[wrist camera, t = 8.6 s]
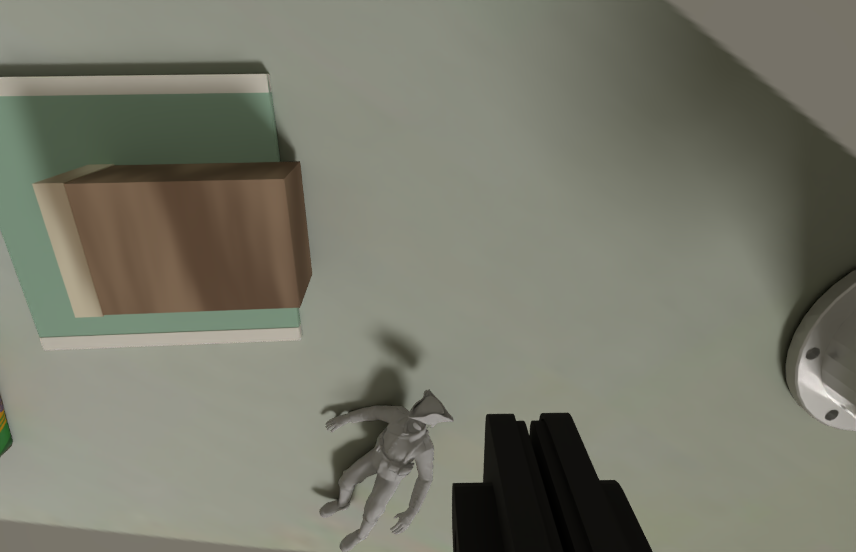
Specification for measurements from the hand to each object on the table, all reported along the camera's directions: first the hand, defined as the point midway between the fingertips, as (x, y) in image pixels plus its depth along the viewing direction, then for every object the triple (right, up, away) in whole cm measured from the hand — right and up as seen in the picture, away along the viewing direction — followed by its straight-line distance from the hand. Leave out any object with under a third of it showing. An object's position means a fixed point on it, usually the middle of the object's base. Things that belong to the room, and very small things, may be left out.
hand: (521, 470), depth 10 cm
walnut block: (-8, +6, +14) cm, 17 cm away
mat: (-16, +7, +15) cm, 23 cm away
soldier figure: (-5, -7, +22) cm, 24 cm away
